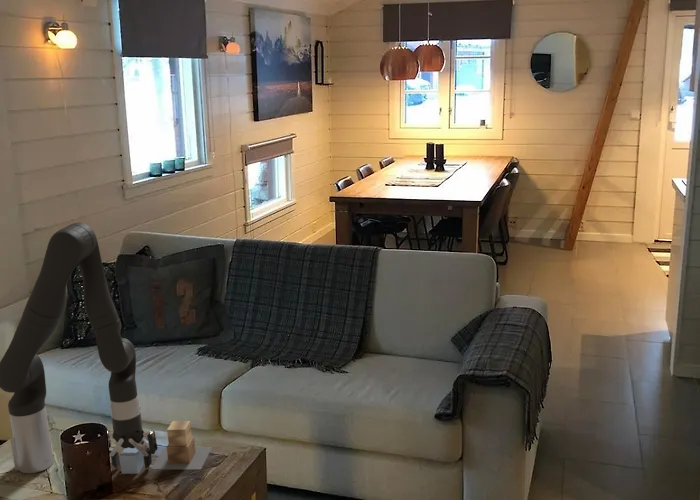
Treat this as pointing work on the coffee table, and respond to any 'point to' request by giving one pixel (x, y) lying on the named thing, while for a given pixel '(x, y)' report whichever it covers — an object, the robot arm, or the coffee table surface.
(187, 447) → the walnut base block
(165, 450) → the felt mat
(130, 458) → the light grey box block
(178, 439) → the oak top block
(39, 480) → the coffee table surface
